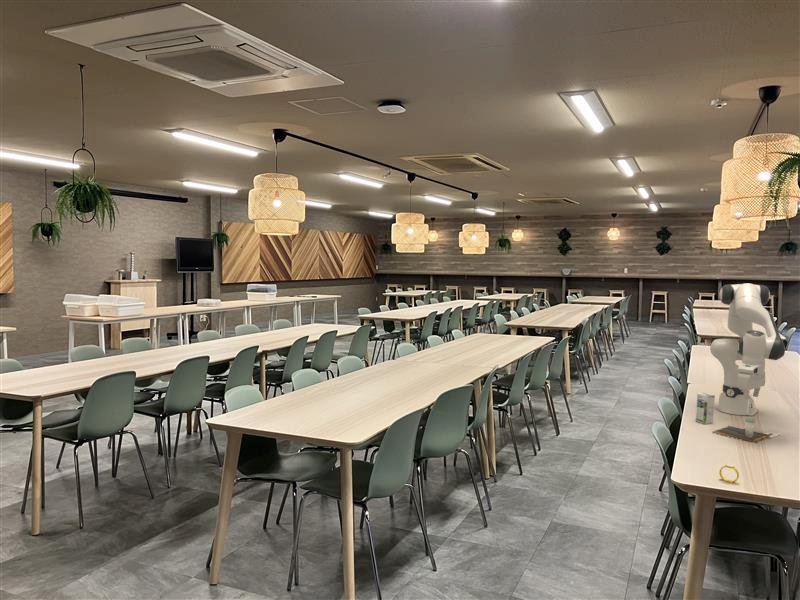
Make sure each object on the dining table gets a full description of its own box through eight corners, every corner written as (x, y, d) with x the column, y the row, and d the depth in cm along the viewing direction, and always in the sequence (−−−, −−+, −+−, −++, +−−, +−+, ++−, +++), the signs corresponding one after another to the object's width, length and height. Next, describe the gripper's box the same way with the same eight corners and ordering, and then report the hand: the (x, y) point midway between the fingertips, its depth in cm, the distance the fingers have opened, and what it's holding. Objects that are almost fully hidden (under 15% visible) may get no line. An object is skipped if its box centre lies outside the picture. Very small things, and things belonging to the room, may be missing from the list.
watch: (738, 482, 209) (740, 466, 208) (736, 485, 207) (739, 468, 206) (719, 477, 212) (722, 461, 212) (718, 479, 210) (720, 463, 210)
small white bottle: (746, 435, 264) (747, 418, 264) (754, 437, 262) (755, 419, 261) (743, 436, 262) (744, 419, 262) (751, 438, 260) (752, 420, 259)
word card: (767, 432, 273) (767, 431, 273) (779, 435, 270) (779, 434, 269) (760, 435, 269) (760, 434, 269) (772, 438, 265) (772, 437, 265)
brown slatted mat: (728, 427, 281) (728, 425, 281) (770, 436, 267) (770, 434, 267) (712, 433, 271) (712, 430, 271) (754, 442, 257) (754, 440, 257)
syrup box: (695, 421, 291) (696, 392, 290) (703, 420, 293) (705, 392, 292) (704, 424, 286) (706, 395, 285) (713, 423, 288) (715, 394, 287)
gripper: (755, 364, 269) (753, 393, 270) (735, 368, 256) (733, 399, 257) (770, 366, 264) (768, 396, 265) (751, 370, 252) (749, 402, 252)
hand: (751, 398), depth 261 cm, fingers open, 8 cm apart
